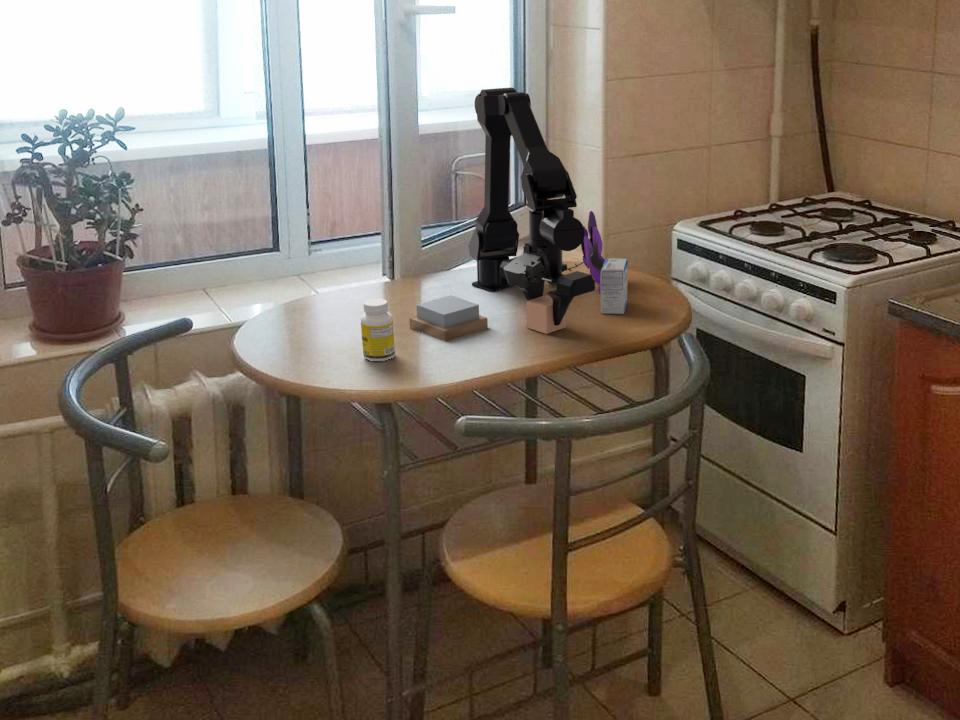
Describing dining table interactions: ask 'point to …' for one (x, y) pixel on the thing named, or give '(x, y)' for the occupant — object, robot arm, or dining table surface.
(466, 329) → the bottom block
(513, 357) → the dining table surface
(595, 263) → the flower
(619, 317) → the dining table surface
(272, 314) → the dining table surface
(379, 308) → the supplement bottle
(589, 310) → the dining table surface
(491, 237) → the robot arm
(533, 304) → the terracotta cube
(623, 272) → the medicine box
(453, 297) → the top block
